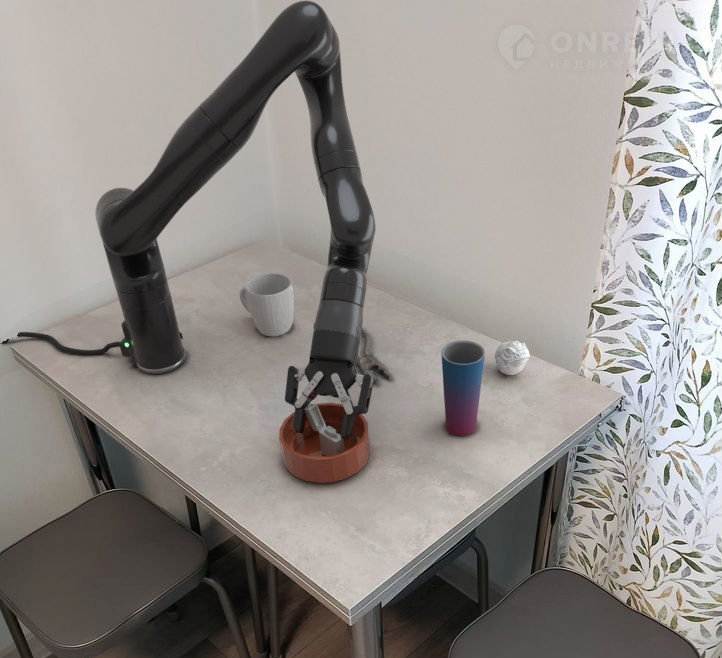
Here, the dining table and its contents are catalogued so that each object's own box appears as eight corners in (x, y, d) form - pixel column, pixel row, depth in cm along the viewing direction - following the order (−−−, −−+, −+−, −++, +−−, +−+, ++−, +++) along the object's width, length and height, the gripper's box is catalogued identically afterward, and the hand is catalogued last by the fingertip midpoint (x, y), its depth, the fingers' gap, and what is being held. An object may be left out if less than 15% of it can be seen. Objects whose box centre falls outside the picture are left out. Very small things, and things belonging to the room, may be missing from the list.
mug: (306, 324, 164) (300, 280, 157) (276, 345, 159) (270, 300, 152) (259, 307, 170) (253, 264, 164) (230, 326, 165) (221, 283, 158)
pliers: (351, 319, 162) (417, 361, 150) (352, 323, 163) (417, 365, 151) (312, 337, 158) (377, 382, 146) (313, 341, 159) (377, 385, 146)
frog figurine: (505, 388, 144) (508, 355, 140) (486, 367, 149) (488, 335, 145) (535, 379, 146) (538, 346, 141) (515, 359, 151) (518, 327, 146)
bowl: (270, 478, 129) (266, 452, 126) (299, 423, 140) (296, 398, 136) (356, 491, 126) (353, 465, 122) (379, 434, 136) (378, 408, 133)
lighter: (345, 457, 131) (342, 418, 125) (338, 463, 130) (334, 424, 125) (316, 439, 135) (311, 400, 129) (308, 444, 134) (303, 405, 129)
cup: (437, 416, 139) (438, 342, 129) (476, 412, 139) (480, 338, 129) (444, 441, 134) (445, 366, 124) (484, 437, 134) (489, 362, 124)
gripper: (385, 342, 131) (370, 444, 130) (301, 334, 134) (286, 432, 134) (375, 332, 124) (359, 439, 123) (287, 323, 127) (271, 427, 126)
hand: (321, 435), depth 128 cm, fingers closed on lighter, 7 cm apart
